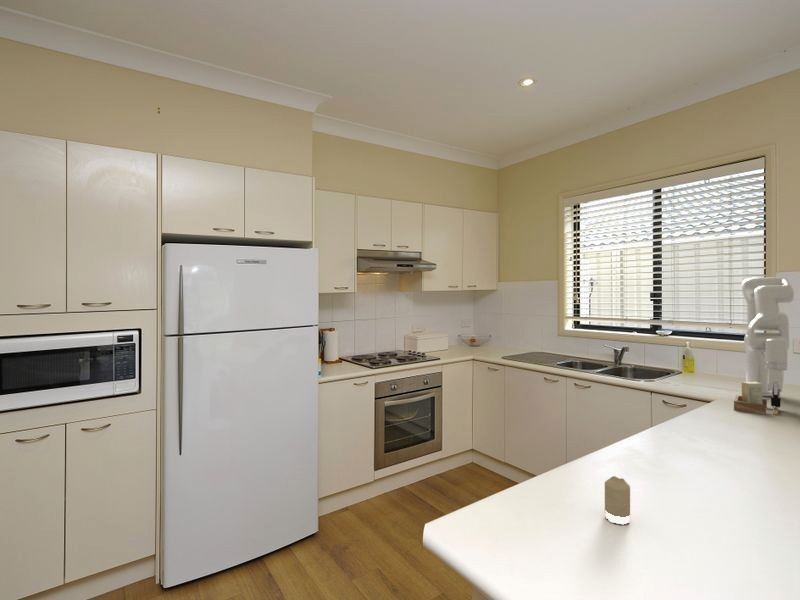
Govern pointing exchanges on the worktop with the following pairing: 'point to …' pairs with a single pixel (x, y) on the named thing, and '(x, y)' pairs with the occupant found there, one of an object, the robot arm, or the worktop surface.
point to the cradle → (750, 406)
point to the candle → (617, 497)
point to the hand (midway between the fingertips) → (775, 406)
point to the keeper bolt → (775, 409)
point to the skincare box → (752, 392)
